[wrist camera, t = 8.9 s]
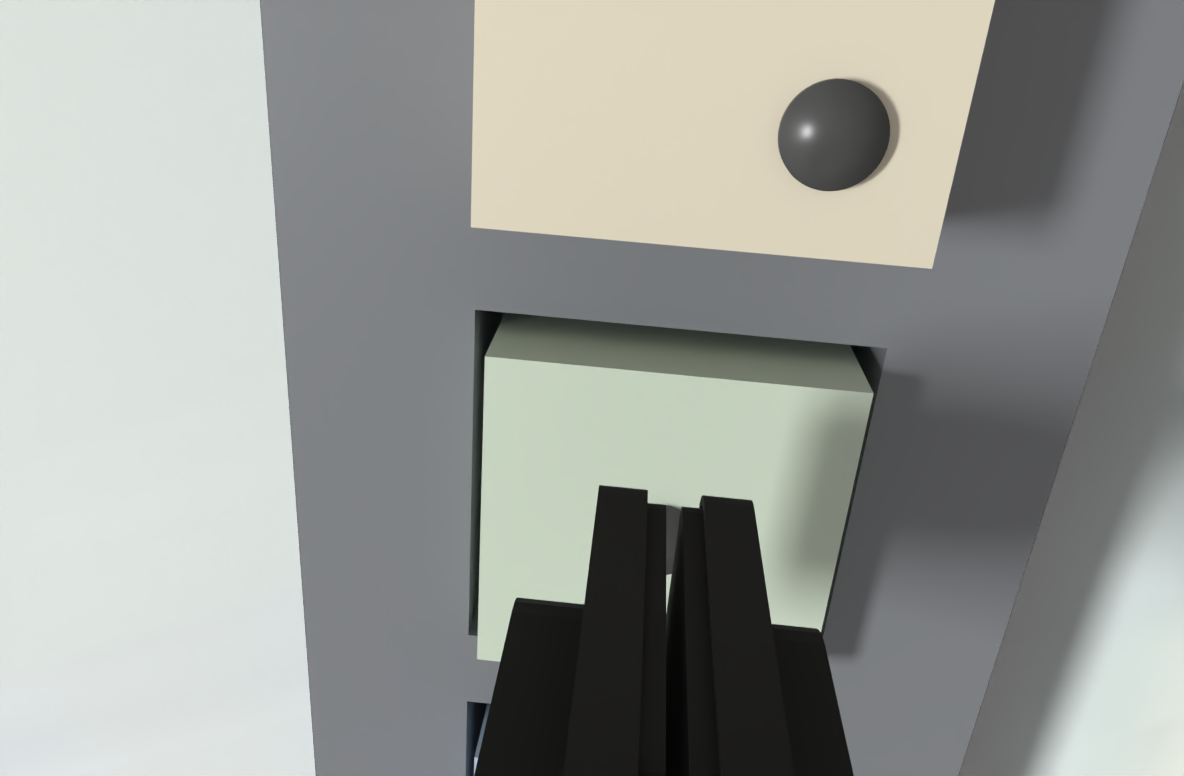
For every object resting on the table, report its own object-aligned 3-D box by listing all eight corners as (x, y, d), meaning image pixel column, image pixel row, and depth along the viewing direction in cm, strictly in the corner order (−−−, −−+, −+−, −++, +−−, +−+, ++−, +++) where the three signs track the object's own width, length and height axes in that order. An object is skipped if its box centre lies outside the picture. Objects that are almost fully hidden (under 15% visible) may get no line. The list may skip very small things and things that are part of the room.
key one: (518, 284, 15) (482, 359, 12) (834, 313, 15) (875, 397, 12) (507, 546, 17) (475, 663, 14) (784, 575, 17) (808, 700, 14)
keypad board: (324, -380, 12) (224, -481, 9) (1185, -323, 12) (1342, -411, 9) (371, 821, 21) (328, 946, 18) (853, 875, 21) (881, 1012, 18)
